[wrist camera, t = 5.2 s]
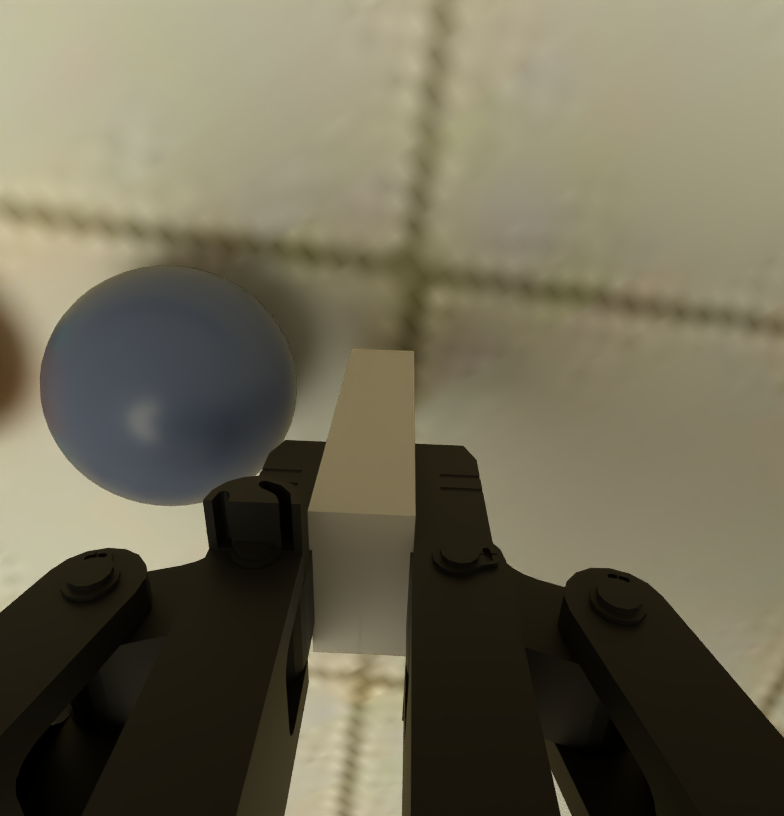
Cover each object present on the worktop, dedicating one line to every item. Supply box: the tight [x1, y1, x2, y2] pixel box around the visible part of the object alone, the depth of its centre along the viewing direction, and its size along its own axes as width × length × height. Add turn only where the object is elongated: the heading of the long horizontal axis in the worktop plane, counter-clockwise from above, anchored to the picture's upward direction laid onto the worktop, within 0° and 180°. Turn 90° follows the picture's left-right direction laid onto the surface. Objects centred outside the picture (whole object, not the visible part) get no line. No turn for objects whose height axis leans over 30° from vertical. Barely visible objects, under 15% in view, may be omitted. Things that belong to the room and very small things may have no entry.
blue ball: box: [40, 266, 297, 506], centre depth 13 cm, size 6×6×6 cm
